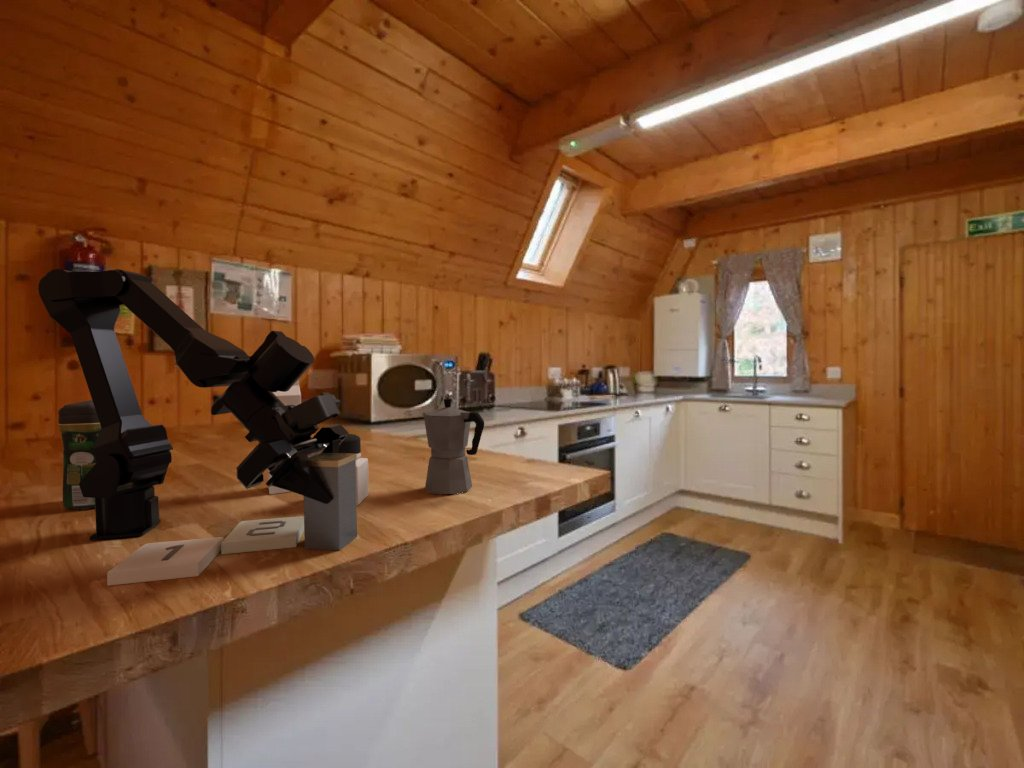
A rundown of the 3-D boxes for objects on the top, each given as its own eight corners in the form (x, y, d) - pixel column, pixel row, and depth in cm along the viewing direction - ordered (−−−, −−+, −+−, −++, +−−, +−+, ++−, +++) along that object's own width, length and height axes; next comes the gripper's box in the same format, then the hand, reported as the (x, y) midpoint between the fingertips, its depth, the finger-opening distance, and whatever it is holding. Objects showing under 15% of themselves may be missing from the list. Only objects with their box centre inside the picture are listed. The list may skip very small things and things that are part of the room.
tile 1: (107, 585, 54) (106, 571, 54) (146, 554, 62) (145, 542, 62) (198, 576, 56) (197, 562, 56) (223, 547, 65) (222, 536, 65)
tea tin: (303, 548, 64) (301, 460, 64) (324, 535, 69) (322, 452, 69) (340, 550, 64) (338, 461, 63) (358, 536, 69) (356, 453, 68)
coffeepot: (407, 489, 94) (406, 398, 93) (440, 479, 102) (439, 395, 101) (467, 502, 86) (466, 401, 85) (499, 490, 93) (498, 398, 92)
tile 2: (221, 554, 62) (221, 542, 62) (241, 531, 71) (241, 520, 71) (296, 547, 65) (295, 535, 65) (306, 525, 73) (306, 515, 73)
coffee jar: (90, 496, 90) (85, 398, 90) (137, 494, 92) (133, 397, 91) (51, 512, 81) (46, 402, 80) (105, 509, 82) (100, 401, 82)
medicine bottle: (369, 495, 90) (368, 431, 90) (358, 506, 83) (357, 437, 83) (331, 495, 90) (329, 432, 90) (316, 507, 83) (315, 438, 83)
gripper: (255, 376, 57) (345, 471, 56) (335, 373, 75) (403, 444, 74) (198, 441, 58) (284, 534, 57) (290, 422, 77) (356, 492, 76)
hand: (340, 495), depth 66 cm, fingers closed on tea tin, 5 cm apart
